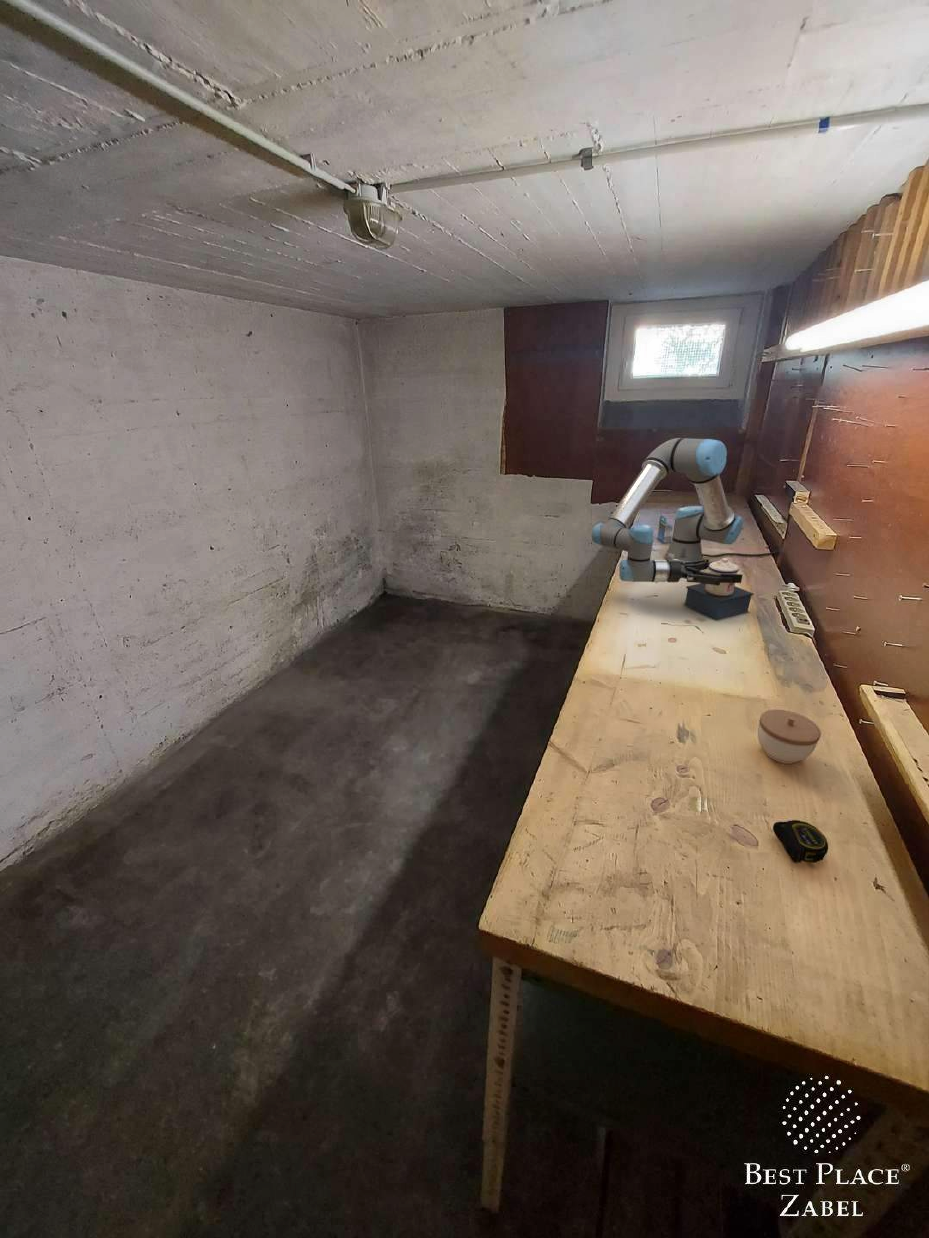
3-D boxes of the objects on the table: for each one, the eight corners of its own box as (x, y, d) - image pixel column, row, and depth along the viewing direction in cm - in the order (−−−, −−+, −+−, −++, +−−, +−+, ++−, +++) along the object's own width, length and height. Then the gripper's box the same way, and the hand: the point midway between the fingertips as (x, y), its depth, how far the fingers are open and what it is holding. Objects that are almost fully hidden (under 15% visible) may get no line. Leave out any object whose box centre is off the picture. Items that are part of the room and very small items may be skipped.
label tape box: (671, 542, 237) (674, 518, 231) (662, 543, 237) (666, 518, 232) (664, 537, 245) (668, 513, 239) (656, 538, 245) (659, 514, 240)
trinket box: (741, 739, 108) (750, 705, 104) (787, 735, 108) (798, 700, 104) (773, 773, 98) (784, 737, 94) (823, 769, 99) (836, 732, 95)
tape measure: (768, 832, 86) (773, 817, 84) (809, 833, 85) (815, 818, 83) (788, 866, 80) (794, 851, 78) (832, 868, 79) (839, 853, 77)
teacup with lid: (732, 598, 159) (739, 564, 154) (702, 593, 163) (708, 561, 158) (735, 586, 168) (742, 554, 163) (707, 582, 172) (712, 550, 167)
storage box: (714, 597, 177) (718, 579, 174) (749, 612, 165) (753, 593, 162) (683, 604, 172) (686, 586, 169) (716, 620, 160) (720, 601, 157)
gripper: (658, 569, 178) (721, 570, 174) (672, 594, 157) (745, 596, 153) (661, 550, 174) (725, 550, 171) (676, 573, 153) (750, 574, 150)
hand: (735, 572), depth 162 cm, fingers closed on teacup with lid, 11 cm apart
